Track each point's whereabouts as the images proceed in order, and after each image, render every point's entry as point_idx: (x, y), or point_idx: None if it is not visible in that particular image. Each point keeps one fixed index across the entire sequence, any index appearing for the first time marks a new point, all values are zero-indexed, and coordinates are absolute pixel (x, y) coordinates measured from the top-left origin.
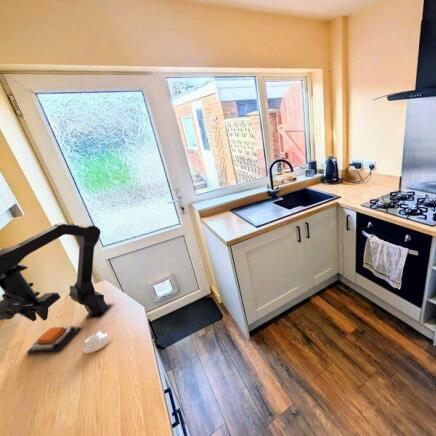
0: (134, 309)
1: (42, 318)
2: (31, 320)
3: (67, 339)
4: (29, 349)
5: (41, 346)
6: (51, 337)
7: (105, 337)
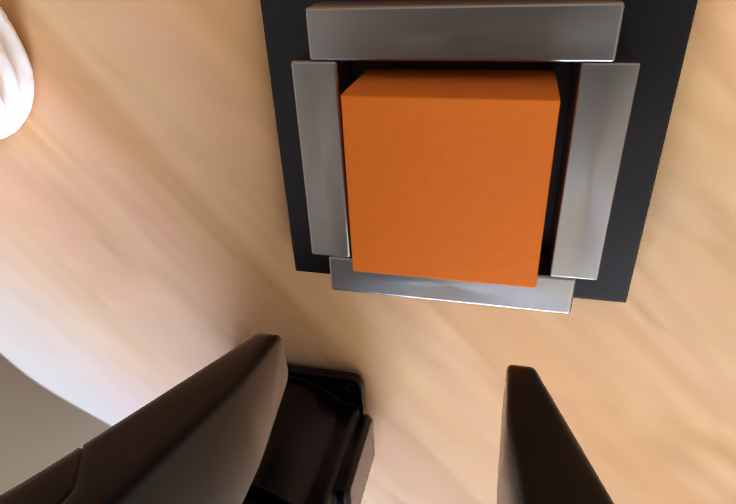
0: (34, 367)
1: (212, 370)
2: (540, 387)
3: (281, 132)
4: (691, 19)
5: (459, 20)
6: (360, 126)
7: None
